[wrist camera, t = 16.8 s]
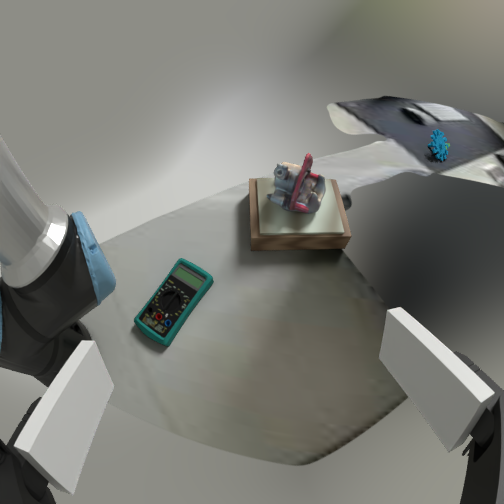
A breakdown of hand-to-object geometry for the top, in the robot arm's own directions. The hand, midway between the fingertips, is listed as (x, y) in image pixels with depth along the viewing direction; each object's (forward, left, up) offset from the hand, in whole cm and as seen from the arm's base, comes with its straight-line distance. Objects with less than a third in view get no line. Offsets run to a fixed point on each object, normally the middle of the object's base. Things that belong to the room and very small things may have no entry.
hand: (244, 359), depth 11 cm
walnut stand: (+10, +31, -33) cm, 46 cm away
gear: (+61, +58, -33) cm, 91 cm away
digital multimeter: (-12, +14, -33) cm, 38 cm away
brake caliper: (+10, +32, -28) cm, 44 cm away
